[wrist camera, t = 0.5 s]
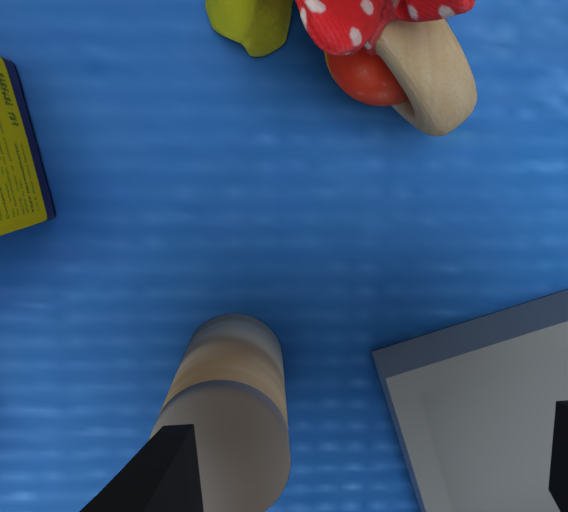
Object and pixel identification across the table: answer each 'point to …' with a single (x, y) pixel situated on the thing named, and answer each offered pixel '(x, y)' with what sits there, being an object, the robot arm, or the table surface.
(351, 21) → the bird rattle
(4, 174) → the supplement box
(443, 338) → the tray
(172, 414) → the cylinder
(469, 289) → the table surface
